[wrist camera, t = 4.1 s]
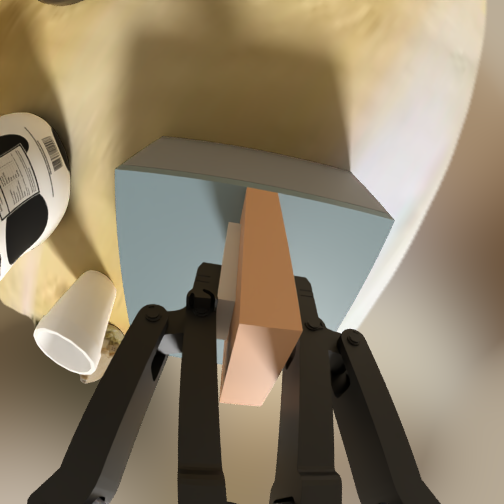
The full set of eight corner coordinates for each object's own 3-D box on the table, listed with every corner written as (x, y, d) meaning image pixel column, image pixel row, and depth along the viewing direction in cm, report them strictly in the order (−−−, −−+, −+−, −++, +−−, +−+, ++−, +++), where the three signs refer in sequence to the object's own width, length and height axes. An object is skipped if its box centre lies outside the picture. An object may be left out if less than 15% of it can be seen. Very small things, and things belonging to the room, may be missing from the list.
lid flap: (120, 164, 17) (7, 270, 7) (389, 214, 19) (473, 335, 9) (137, 341, 28) (109, 436, 18) (308, 365, 30) (320, 459, 20)
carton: (162, 136, 25) (121, 164, 17) (350, 171, 27) (388, 213, 19) (157, 284, 37) (137, 341, 28) (299, 305, 39) (308, 364, 30)
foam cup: (137, 297, 38) (108, 369, 27) (104, 315, 41) (76, 378, 30) (93, 251, 34) (47, 319, 23) (64, 276, 36) (25, 336, 26)
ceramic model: (76, 305, 40) (53, 349, 32) (132, 332, 43) (115, 380, 35) (75, 343, 47) (58, 381, 39) (121, 365, 50) (109, 405, 42)
